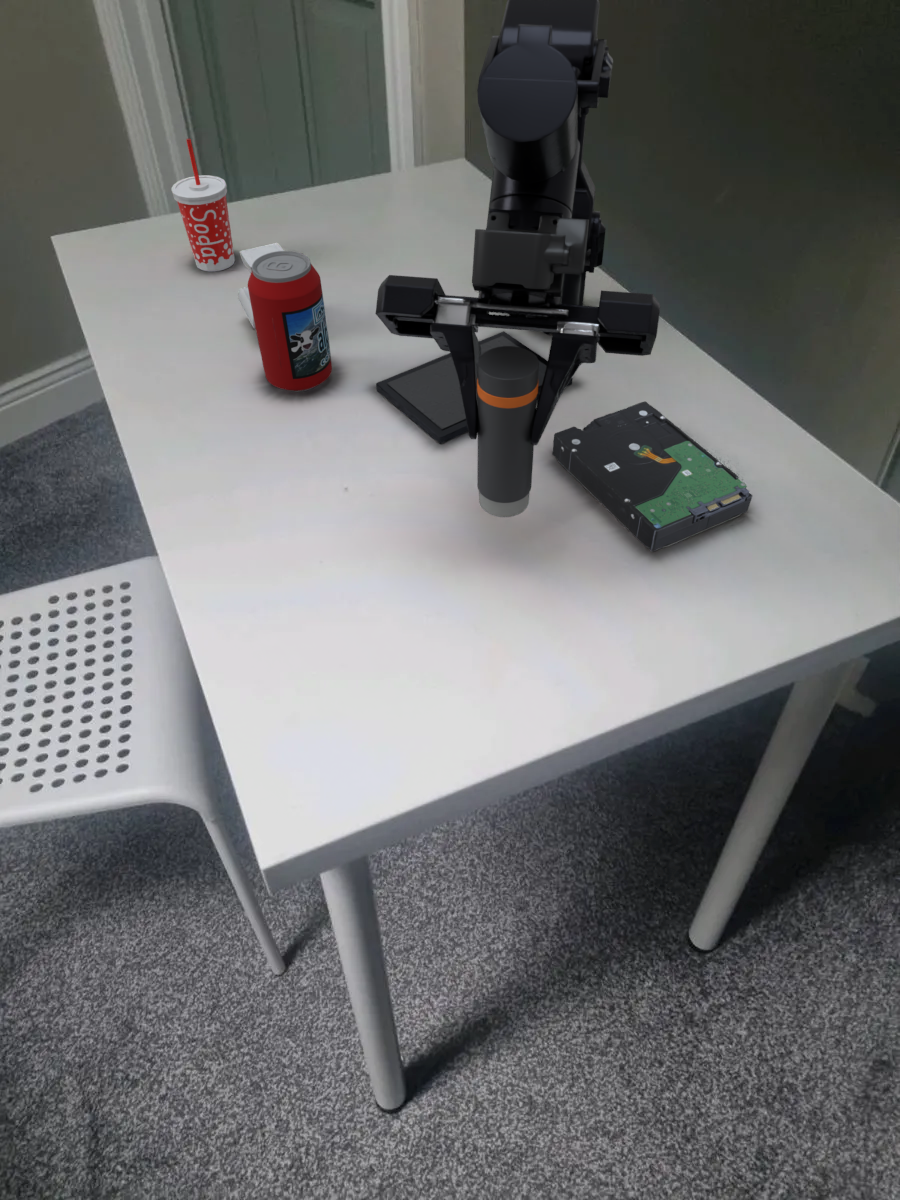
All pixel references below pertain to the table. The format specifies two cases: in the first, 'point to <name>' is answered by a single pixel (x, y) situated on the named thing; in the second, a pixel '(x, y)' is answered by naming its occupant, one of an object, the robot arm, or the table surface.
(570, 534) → the table surface
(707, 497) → the disk drive
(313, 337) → the beverage can
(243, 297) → the stamp
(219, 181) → the beverage cup
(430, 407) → the tablet
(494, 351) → the flashlight
